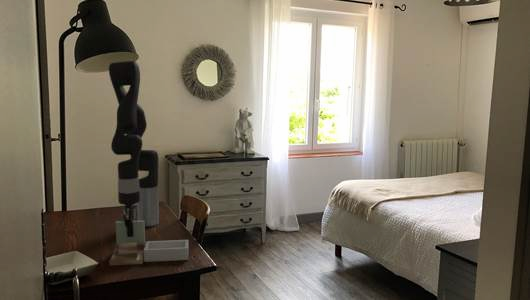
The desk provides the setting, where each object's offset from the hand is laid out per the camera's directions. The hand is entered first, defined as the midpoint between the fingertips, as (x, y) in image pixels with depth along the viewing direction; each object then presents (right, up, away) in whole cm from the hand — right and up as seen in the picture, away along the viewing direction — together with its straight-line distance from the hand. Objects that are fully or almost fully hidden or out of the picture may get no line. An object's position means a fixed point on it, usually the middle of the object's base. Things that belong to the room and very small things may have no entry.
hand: (130, 235), depth 173 cm
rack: (+1, -7, -4) cm, 8 cm away
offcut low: (+1, -6, -9) cm, 11 cm away
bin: (+14, -7, -2) cm, 16 cm away
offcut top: (+2, -4, -9) cm, 10 cm away
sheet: (0, -4, +1) cm, 4 cm away
